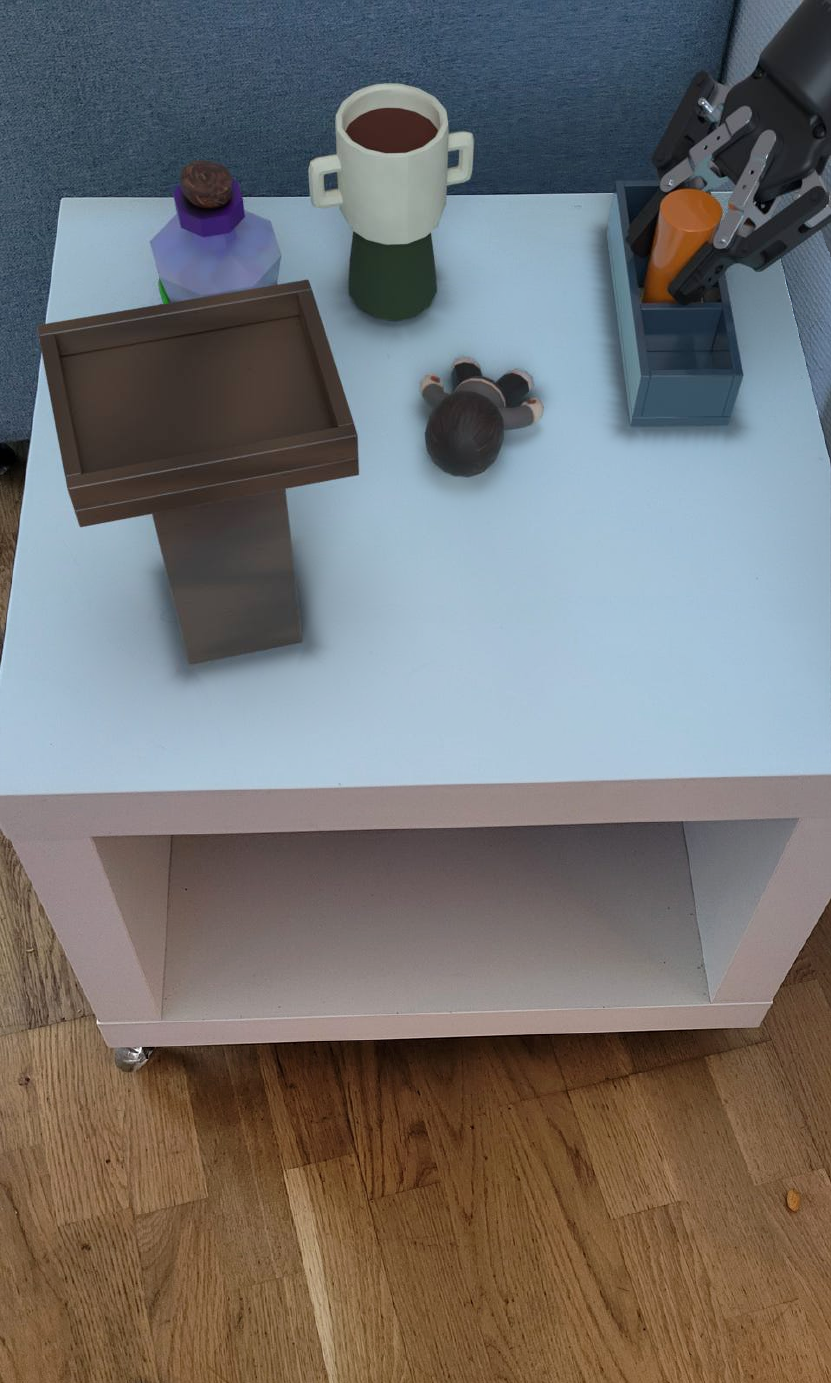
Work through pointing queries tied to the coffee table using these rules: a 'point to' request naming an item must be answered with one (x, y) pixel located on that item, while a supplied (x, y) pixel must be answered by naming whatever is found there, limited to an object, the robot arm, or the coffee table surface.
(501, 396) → the figurine
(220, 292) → the potion bottle
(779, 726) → the coffee table surface
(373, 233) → the character mug
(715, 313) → the three-compartment dish
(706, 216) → the orange glossy cylinder
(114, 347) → the walnut tray stand
